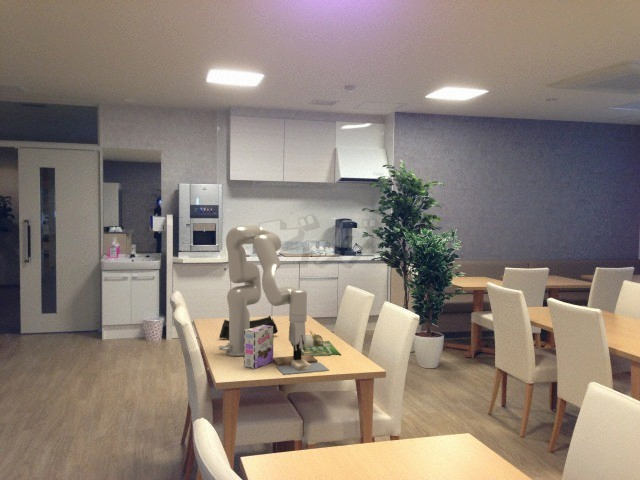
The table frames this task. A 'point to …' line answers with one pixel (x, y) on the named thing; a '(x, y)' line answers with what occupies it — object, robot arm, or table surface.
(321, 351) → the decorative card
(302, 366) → the birch tile
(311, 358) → the walnut deck
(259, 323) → the magazine
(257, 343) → the candy box
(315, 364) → the slate mat
